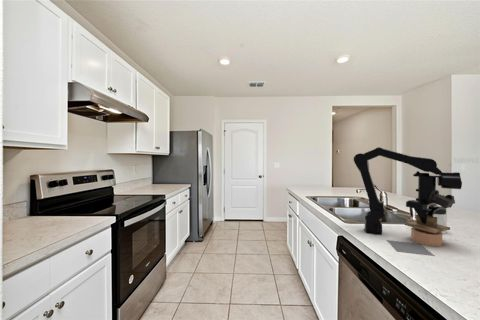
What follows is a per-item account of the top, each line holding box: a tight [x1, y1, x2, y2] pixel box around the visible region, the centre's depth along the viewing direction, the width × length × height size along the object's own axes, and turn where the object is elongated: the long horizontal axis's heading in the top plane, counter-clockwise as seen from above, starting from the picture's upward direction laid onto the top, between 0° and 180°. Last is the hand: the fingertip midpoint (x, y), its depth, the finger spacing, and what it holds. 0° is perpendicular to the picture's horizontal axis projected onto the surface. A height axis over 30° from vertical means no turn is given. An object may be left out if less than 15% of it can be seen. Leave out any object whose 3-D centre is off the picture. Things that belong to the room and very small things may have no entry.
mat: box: [386, 239, 436, 257], centre depth 86 cm, size 12×12×1 cm
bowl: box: [410, 227, 444, 247], centre depth 93 cm, size 10×10×5 cm
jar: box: [433, 205, 448, 235], centre depth 106 cm, size 9×8×12 cm
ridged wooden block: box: [404, 213, 451, 233], centre depth 92 cm, size 11×11×5 cm
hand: (426, 223), depth 93 cm, fingers closed on ridged wooden block, 3 cm apart
